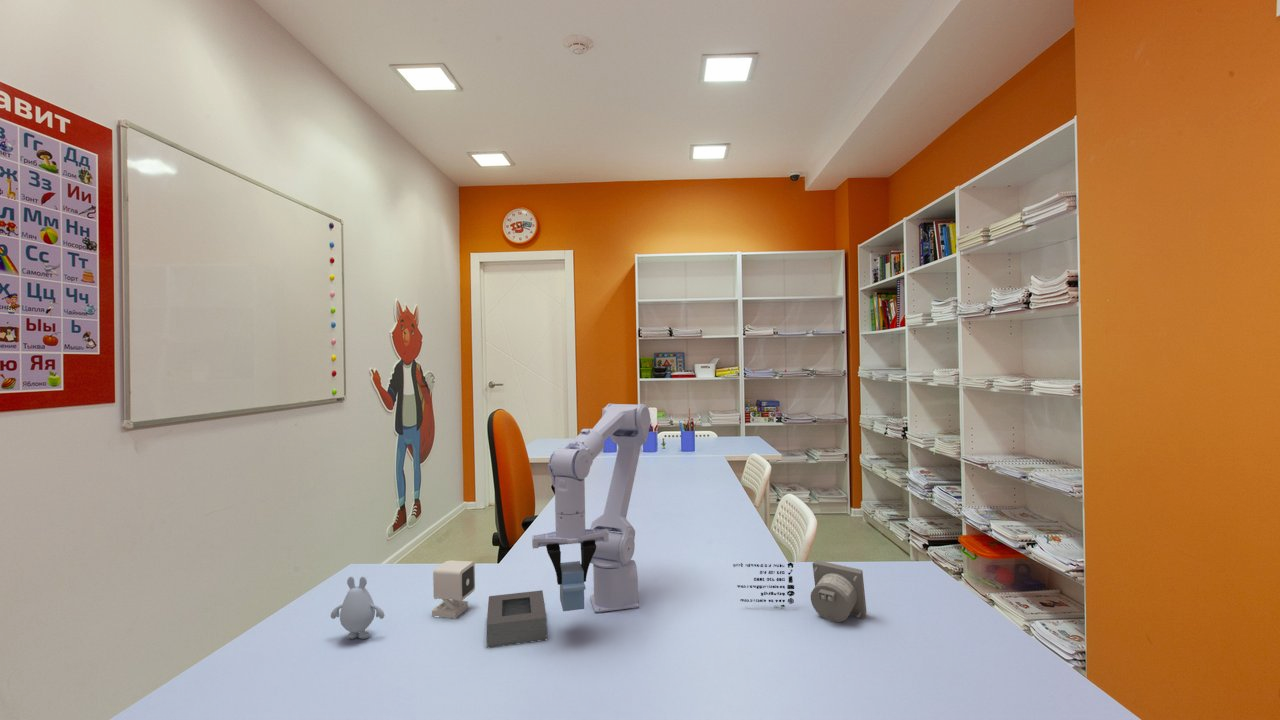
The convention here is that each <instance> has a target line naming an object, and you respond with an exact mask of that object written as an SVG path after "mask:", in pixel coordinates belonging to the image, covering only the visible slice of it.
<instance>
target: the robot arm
mask: <svg viewBox="0 0 1280 720" xmlns="http://www.w3.org/2000/svg"><path fill="white" fill-rule="evenodd" d="M601 415H602V416H601V418H600V419H599V420H598V422H596V424H595V425H594V426H593V427H592V428H582V429H581V430H580V433H579V434H577V436H576V437H575V438H574V439H573V440H571V441H570V442H569V443H568V444H567V445H566V446H565V447H560V448H557V449H555V450H554V451H552V453H551V455H550V457H549V461H548V464H547V470H548V474H549V475H550V477H551V485H552V487H553V488H554V508H555V509H554V514H555V517H554V518H555V531H551V532H546V533H541V534H535V535H531V541H532V542H531V543H532V545H531V546H532V549H533V550H534V549H539V548H540V547H541V548H542V547H546V552H547V554H548V557H549V558H550V560H551V563H552V565H553V569H554V572H555V575H556V583H557V585H559V586H560V584H562V578H561V563H562V562H561V561H562V560H561V559H562V551H561V547H560V546H563V545H574V544H575V545H576V544H580V558H581V561H580V563H581V566H582V569H583V571H584V583H586V582H587V576H588V575H587V574H588V571H589V567H590V565H591V564H592V565H593V566H592V567H593V569H592V570H593V572H592V573H593V594H591V595H590V596H589V599H590V602H591V604H592V607H593V610H594V613H603V612H604V613H605V612H611V611H619V610H627V609H636V608H639V607H640V604H639V577H638V568H637V564H636V561H635V560H634V559H633V556H634V553H635V545H636V544H635V539H636V530H635V528H634V527H633V525H632V524H631V523H630V522H629V521H628V519H627V516H628V511H629V507H630V501H631V495H632V493H633V487H634V481H635V477H636V472H637V467H638V463H639V458H640V454H641V449H642V446H643V445H644V444H646V443H647V441H648V436H649V433H650V427H651V423H652V422H651V421H652V419H651V413H650V410H649V408H648V406H647V405H646V404H645V403H640V404H630V403H627V404H626V403H625V404H623V403H620V404H619V403H613V402H612V403H609V402H608V404H607V405H606V406H605V407H603V409H602V414H601ZM608 438H610V440H611V442H613V443H614V444H616V445H617V447H618V449H617V454H616V458H615V463H614V467H613V470H612V476H611V479H610V484H609V489H608V493H607V498H606V502H605V506H604V510H603V514H601V515H600V516H599V517H597V518H596V519H594V520H593V521H592V522H591V525H590V528H589V529H588V528H586V494H585V493H586V492H585V491H586V487H585V484H586V483H585V479H586V478H587V477H588V476H589V474H590V471H591V467H592V465H593V463H594V460H595V459H596V458H597V457H598V456H599V455H600V453H601V452H602V451H603V450H604V448H605V441H606V440H607V439H608Z"/></svg>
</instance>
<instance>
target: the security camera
mask: <svg viewBox="0 0 1280 720" xmlns="http://www.w3.org/2000/svg"><path fill="white" fill-rule="evenodd" d="M475 568H476V565H475V561H470V560H469V561H467V560H466V561H465V560H464V561H463V560H452V559H451V560H446V561H444V562H443V563H442V564H440V565H438V566H437V567H436V568H434V569H433V572H432V581H433V583H432V585H433V586H432V587H433V599H434V600H438V599H439V600H442V602H441V603H439V605H436V606H435V607H434V608H433V609H432V610H431V617H432V616H439V617H438V618H443V617H447V618H446V619H457V618H458V617H459V616H460V615H462V613H463V612H465V611H466V610H467V609H468V608H469V601H467V600H465V599H466V598H467V597H469V596H470V595H471V594H472V593H473V592H475V589H476V569H475ZM467 607H468V608H467ZM466 608H467V609H466ZM465 609H466V610H465ZM458 615H459V616H458ZM457 616H458V617H457ZM456 617H457V618H456Z"/></svg>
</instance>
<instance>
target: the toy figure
mask: <svg viewBox="0 0 1280 720" xmlns="http://www.w3.org/2000/svg"><path fill="white" fill-rule="evenodd" d="M367 581H368V580H367V578H366V576H360V578H359V584H358V585H356V583H355V578H354V577H353V576H349V577H348V578H347V580H346V584H347V586H348V587H349V590H348V591H347V593H346V595H345V597H344V599H343V603H342V604H339V605H338V606H336V607H335V608H333V610H332V611H331V613H330V618H331V619H333V620H334V619H336V618H339V621H340V625H341V626H342V627H343V629H345V631H347V632H349V633H348V634H347V638H348V639H349V640H355V639H357V638H358V639H361V640H364V639H368V638H369V637H370V634H371V632H370V631H366V629H367V628H368V627H369V626H370V625H371V624H372V622H373V620H374V618H375V617H376V618H379V619H380V620H383V619H384V618H385V617H386V616H385V612H384V611H383V609H382V608H381V607H380V606H378V605H376V604H375V603H374V600H373V598H372V596H371V594H370V592H369V590H368V589H367V588H366V585H367V583H368V582H367Z"/></svg>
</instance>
